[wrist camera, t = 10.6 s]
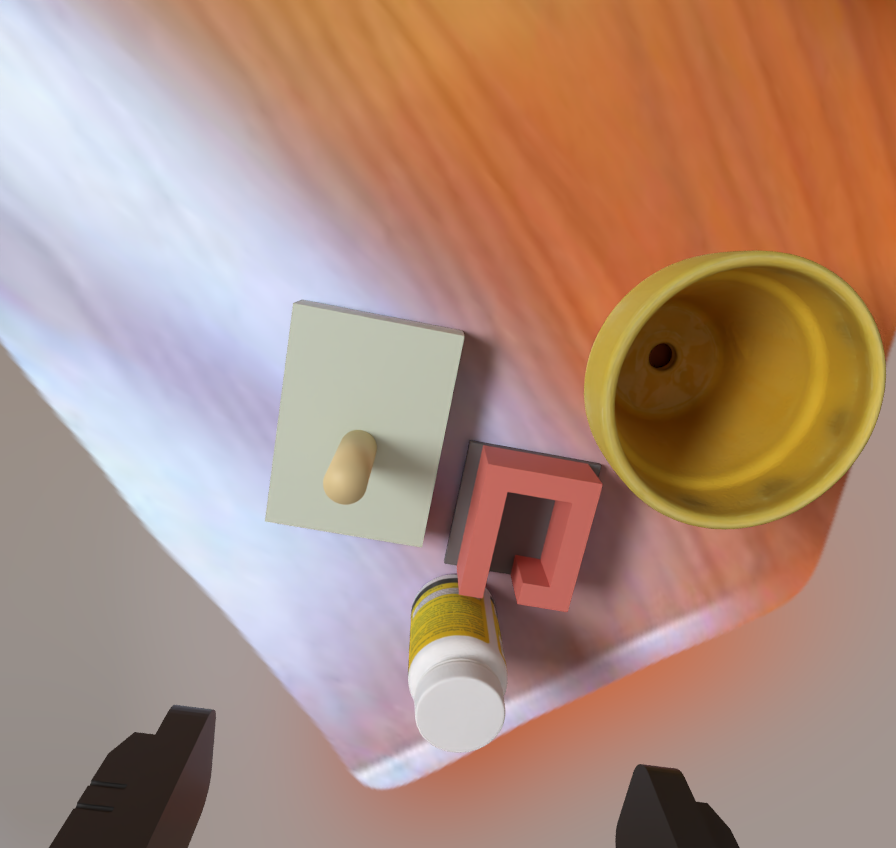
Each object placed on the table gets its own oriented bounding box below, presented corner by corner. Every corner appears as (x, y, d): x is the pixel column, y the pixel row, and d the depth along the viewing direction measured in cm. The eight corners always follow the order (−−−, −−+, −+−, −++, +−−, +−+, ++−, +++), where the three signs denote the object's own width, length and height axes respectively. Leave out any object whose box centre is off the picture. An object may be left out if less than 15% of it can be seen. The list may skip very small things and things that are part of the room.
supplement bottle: (393, 605, 36) (382, 710, 27) (458, 555, 35) (467, 649, 27) (448, 661, 37) (453, 778, 29) (512, 614, 36) (536, 721, 28)
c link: (483, 444, 33) (488, 463, 30) (587, 463, 33) (602, 484, 30) (456, 565, 35) (459, 594, 32) (556, 582, 35) (567, 612, 32)
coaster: (469, 440, 33) (470, 442, 33) (599, 463, 34) (601, 466, 33) (444, 559, 35) (444, 563, 34) (567, 580, 35) (569, 583, 35)
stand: (302, 299, 31) (265, 313, 24) (462, 330, 32) (470, 353, 25) (274, 505, 34) (235, 569, 27) (422, 530, 34) (420, 599, 28)
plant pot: (576, 233, 30) (641, 226, 21) (781, 268, 31) (933, 277, 22) (534, 437, 33) (575, 513, 24) (724, 465, 34) (837, 549, 24)
